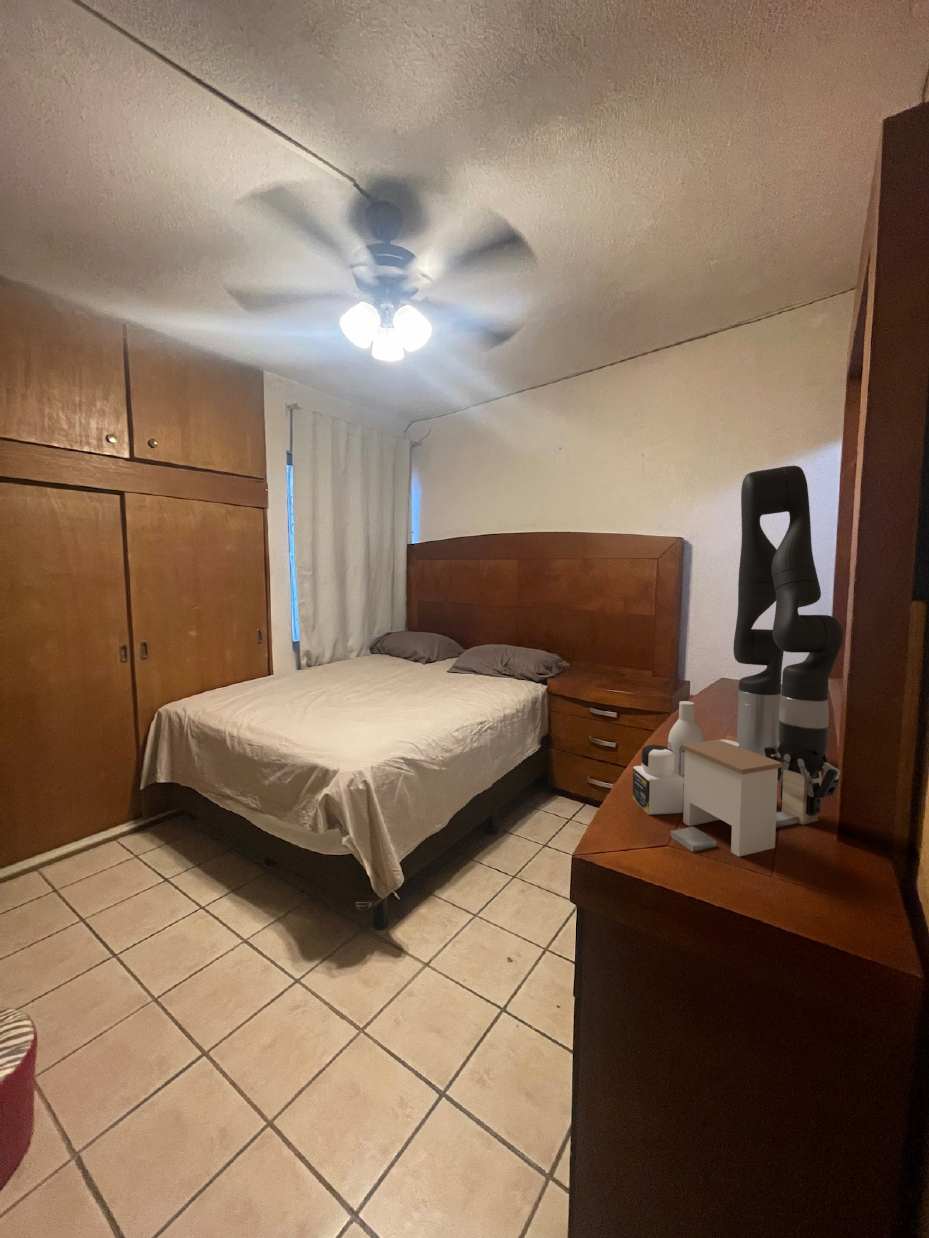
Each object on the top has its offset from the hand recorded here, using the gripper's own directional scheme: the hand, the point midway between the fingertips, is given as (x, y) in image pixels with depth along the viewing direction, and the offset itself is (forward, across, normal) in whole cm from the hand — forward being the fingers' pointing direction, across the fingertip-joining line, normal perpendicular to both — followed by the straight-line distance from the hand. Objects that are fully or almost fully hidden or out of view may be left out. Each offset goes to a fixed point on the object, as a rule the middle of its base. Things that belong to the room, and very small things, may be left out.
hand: (799, 808), depth 89 cm
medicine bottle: (+2, +13, +22) cm, 26 cm away
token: (+2, 0, +25) cm, 26 cm away
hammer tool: (+2, 0, +6) cm, 6 cm away
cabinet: (+2, 0, +18) cm, 18 cm away
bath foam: (+2, +15, +13) cm, 20 cm away
